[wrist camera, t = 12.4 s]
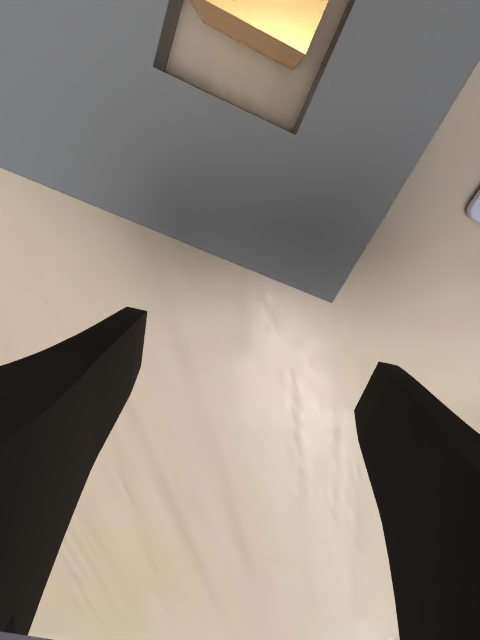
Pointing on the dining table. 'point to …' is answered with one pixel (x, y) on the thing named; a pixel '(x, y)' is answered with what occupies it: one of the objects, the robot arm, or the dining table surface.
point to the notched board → (231, 128)
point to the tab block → (266, 24)
